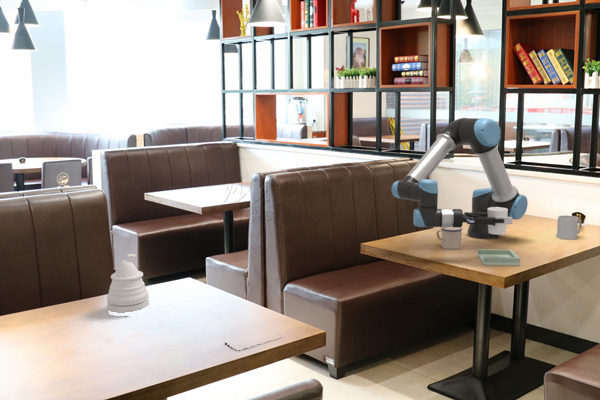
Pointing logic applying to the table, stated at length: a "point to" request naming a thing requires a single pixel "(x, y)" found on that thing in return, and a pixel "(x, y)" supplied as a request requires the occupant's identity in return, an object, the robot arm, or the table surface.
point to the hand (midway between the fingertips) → (509, 218)
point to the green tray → (498, 257)
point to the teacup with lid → (450, 237)
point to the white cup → (497, 212)
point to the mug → (568, 227)
